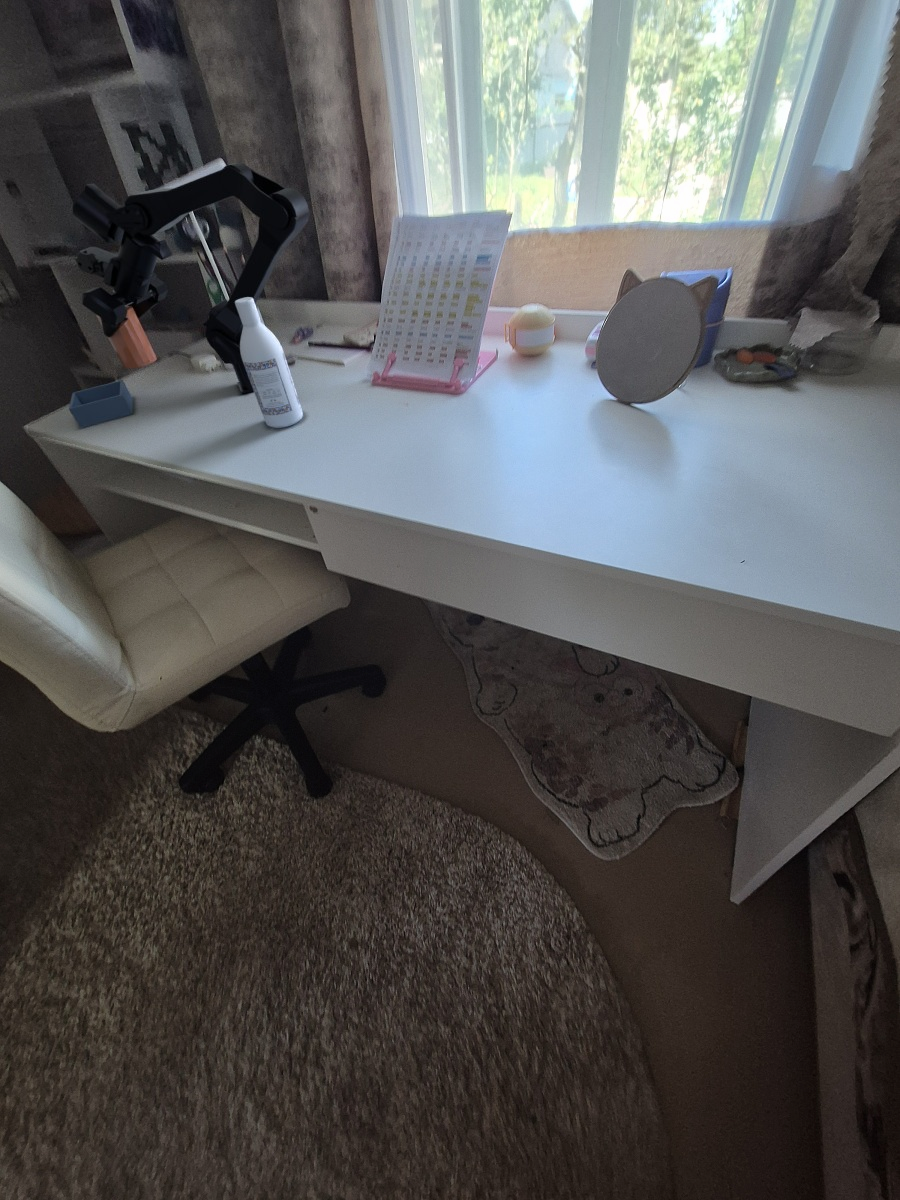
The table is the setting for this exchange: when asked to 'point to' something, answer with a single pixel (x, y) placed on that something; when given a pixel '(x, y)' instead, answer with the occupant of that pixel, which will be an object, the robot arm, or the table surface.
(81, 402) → the tub
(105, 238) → the robot arm
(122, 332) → the cup
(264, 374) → the bath foam
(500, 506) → the table surface
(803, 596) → the table surface
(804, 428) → the table surface
